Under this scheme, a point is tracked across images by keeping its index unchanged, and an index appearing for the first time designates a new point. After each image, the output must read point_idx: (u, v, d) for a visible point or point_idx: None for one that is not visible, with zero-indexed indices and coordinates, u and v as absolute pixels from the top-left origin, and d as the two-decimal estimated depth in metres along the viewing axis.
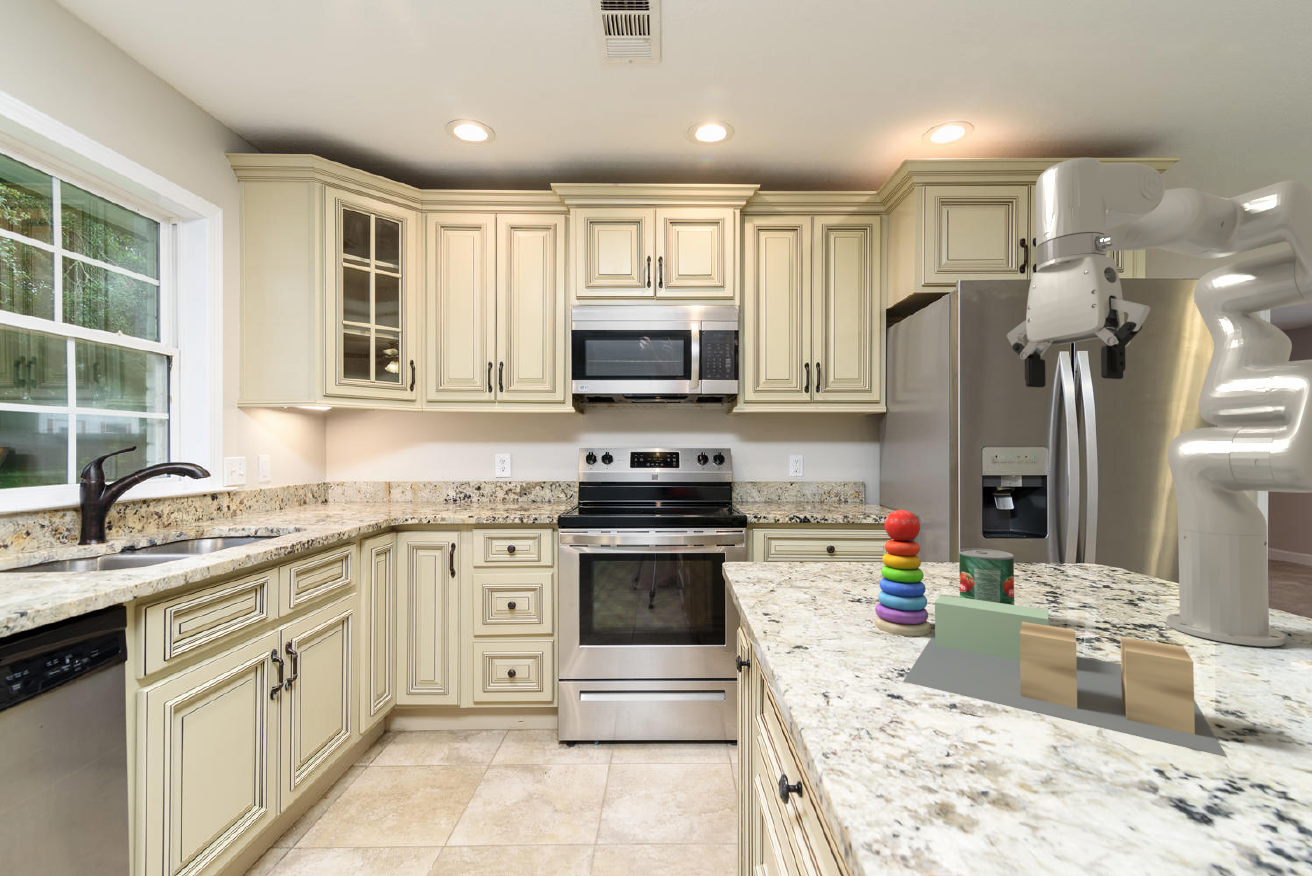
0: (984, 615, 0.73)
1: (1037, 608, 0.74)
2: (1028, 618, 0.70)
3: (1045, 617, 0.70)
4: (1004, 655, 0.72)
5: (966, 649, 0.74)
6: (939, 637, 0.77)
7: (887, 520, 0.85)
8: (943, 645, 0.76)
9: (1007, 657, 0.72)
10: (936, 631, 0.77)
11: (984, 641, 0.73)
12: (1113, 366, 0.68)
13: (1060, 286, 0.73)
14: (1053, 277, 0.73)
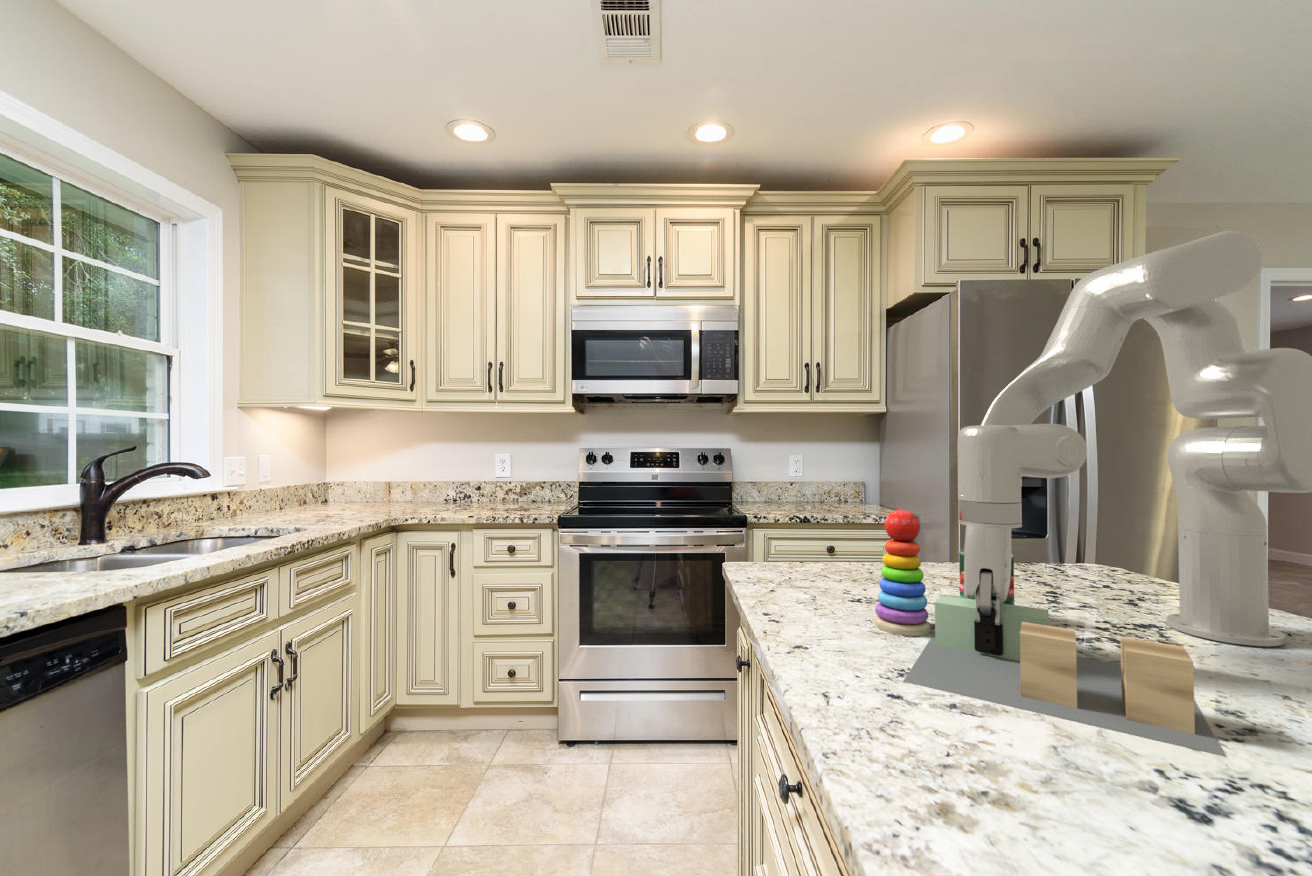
0: None
1: (1037, 608, 0.74)
2: (1028, 618, 0.70)
3: (1045, 617, 0.70)
4: (1004, 655, 0.72)
5: (966, 649, 0.74)
6: (939, 637, 0.77)
7: (887, 520, 0.85)
8: (943, 645, 0.76)
9: (1007, 657, 0.72)
10: (936, 631, 0.77)
11: None
12: None
13: None
14: (1010, 537, 0.73)
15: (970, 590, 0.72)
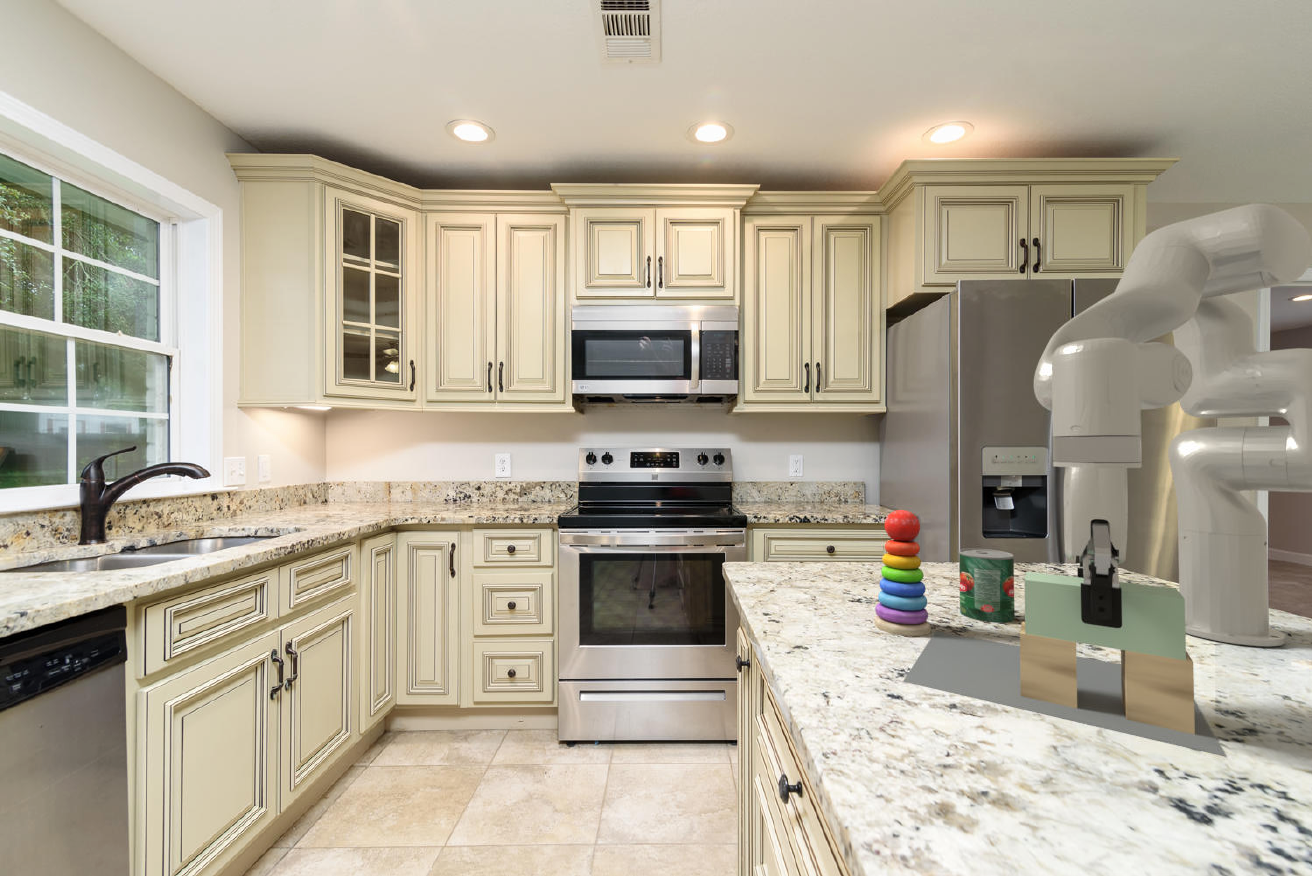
0: None
1: (1160, 586, 0.58)
2: (1157, 598, 0.54)
3: (1179, 596, 0.54)
4: (1122, 646, 0.56)
5: (1068, 638, 0.59)
6: (1030, 624, 0.61)
7: (887, 520, 0.85)
8: (1036, 634, 0.60)
9: (1126, 648, 0.56)
10: (1027, 615, 0.61)
11: (1093, 627, 0.57)
12: None
13: None
14: None
15: (1077, 548, 0.56)
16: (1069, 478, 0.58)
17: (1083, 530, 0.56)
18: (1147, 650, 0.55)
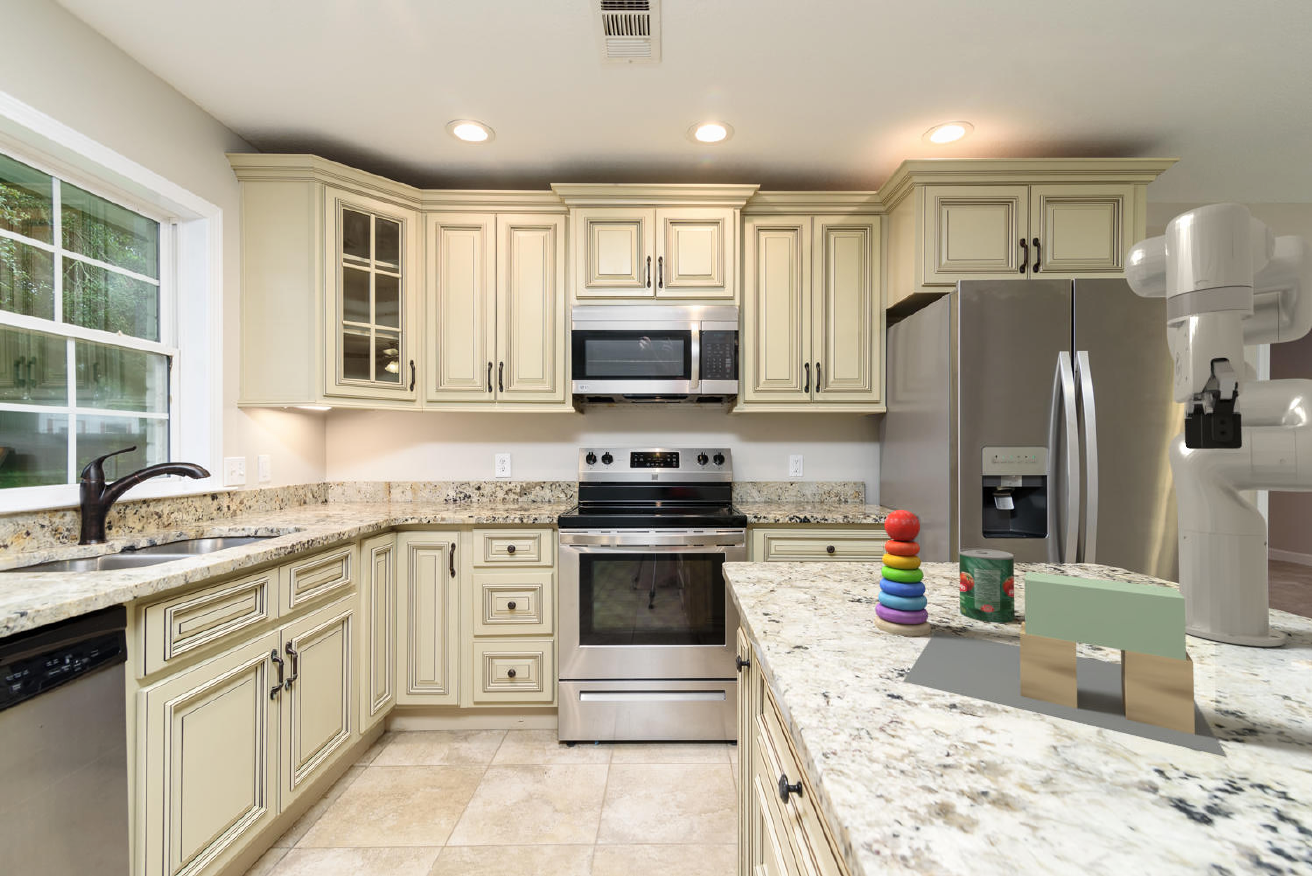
0: (1094, 595, 0.57)
1: (1160, 586, 0.58)
2: (1157, 598, 0.54)
3: (1179, 596, 0.54)
4: (1122, 646, 0.56)
5: (1068, 638, 0.59)
6: (1030, 624, 0.61)
7: (887, 520, 0.85)
8: (1036, 634, 0.60)
9: (1126, 648, 0.56)
10: (1027, 615, 0.61)
11: (1093, 627, 0.57)
12: None
13: None
14: None
15: (1198, 385, 0.64)
16: (1188, 327, 0.65)
17: (1203, 367, 0.64)
18: (1147, 650, 0.55)
